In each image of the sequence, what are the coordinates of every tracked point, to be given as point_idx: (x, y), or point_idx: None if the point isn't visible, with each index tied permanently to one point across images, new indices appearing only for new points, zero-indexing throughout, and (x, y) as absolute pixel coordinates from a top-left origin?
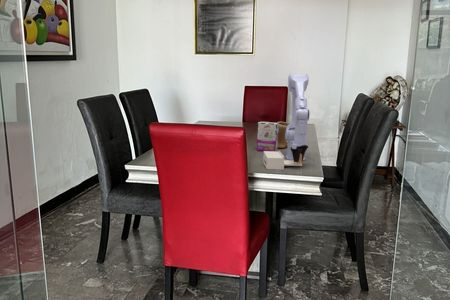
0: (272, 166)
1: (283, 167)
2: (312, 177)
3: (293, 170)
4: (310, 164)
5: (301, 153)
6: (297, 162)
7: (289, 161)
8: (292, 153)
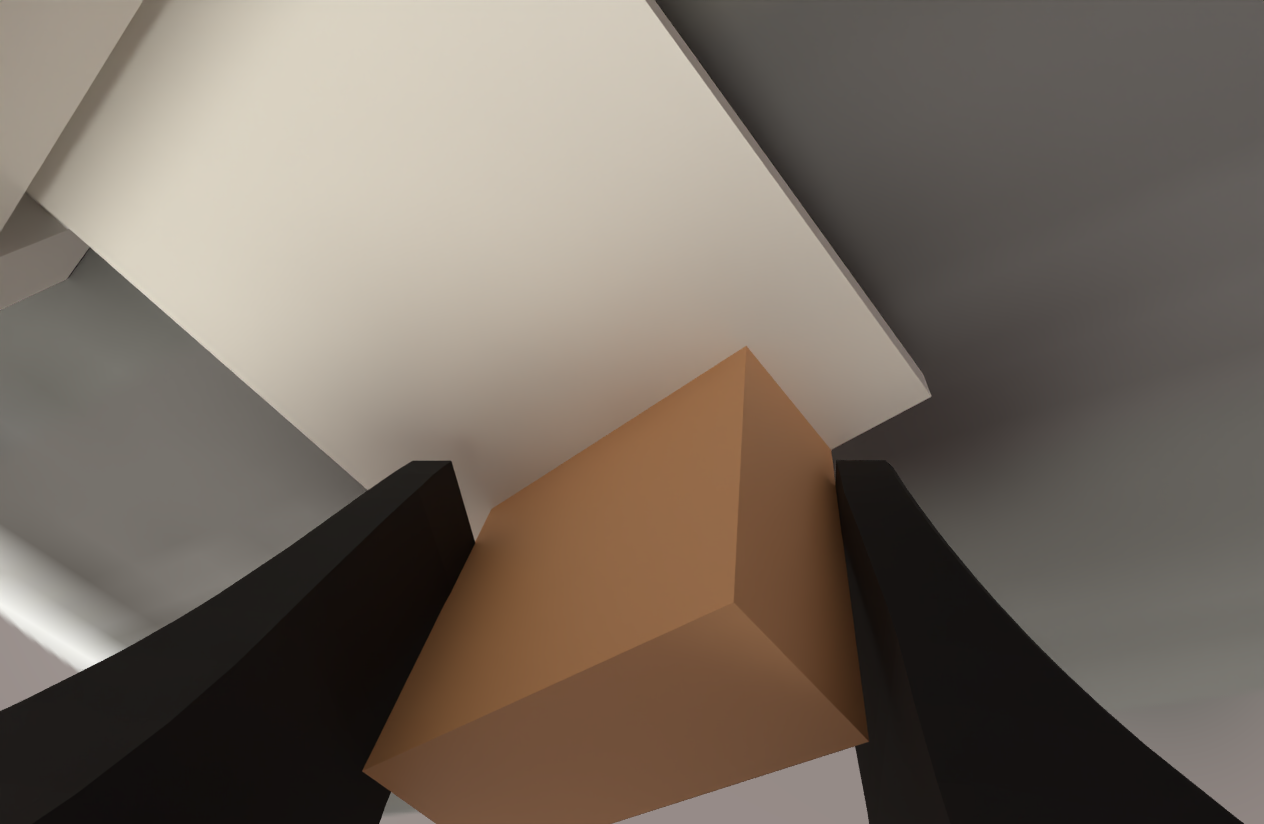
0: None
1: (10, 295)
2: None
3: (246, 471)
4: (1095, 585)
5: (880, 755)
6: (484, 536)
7: (533, 214)
8: (108, 668)
